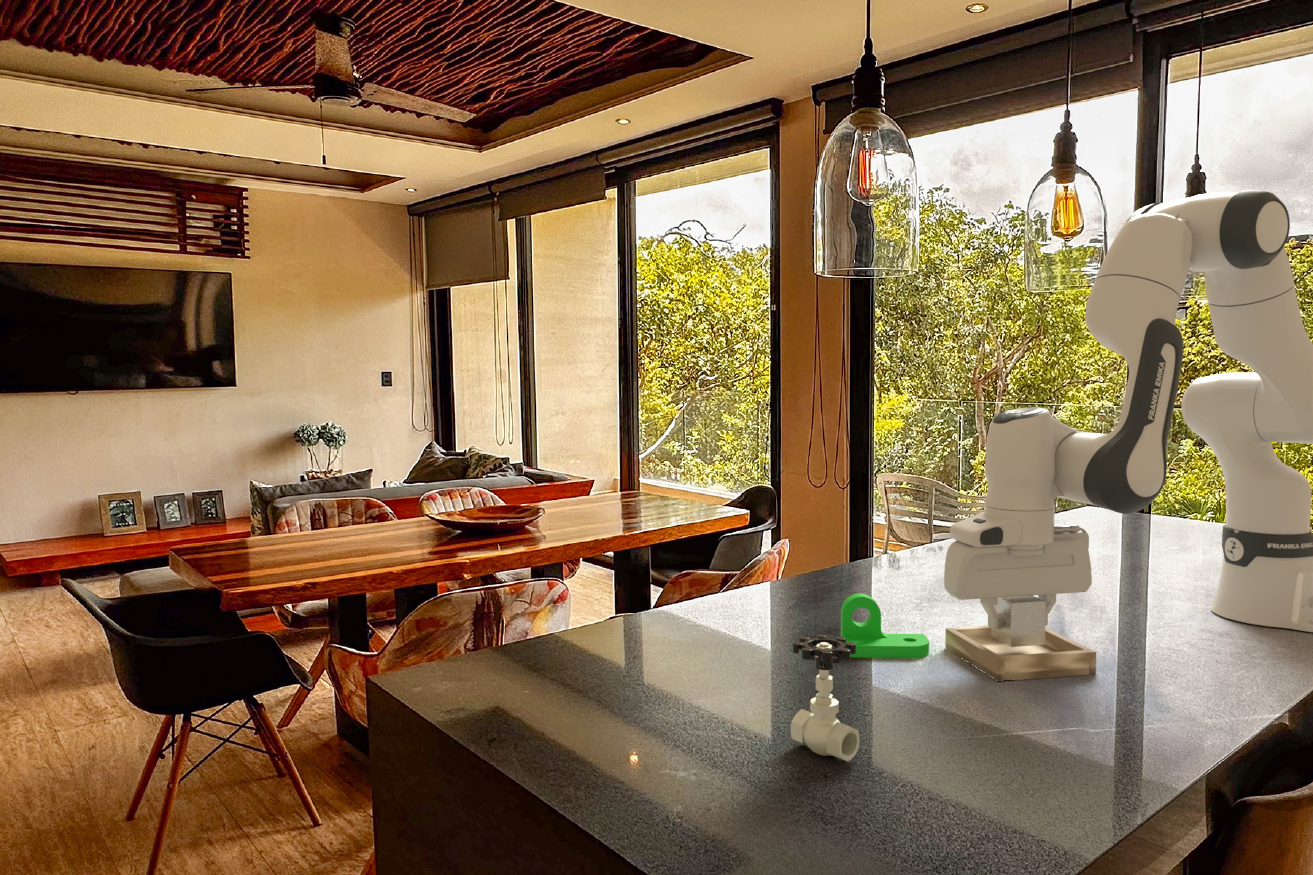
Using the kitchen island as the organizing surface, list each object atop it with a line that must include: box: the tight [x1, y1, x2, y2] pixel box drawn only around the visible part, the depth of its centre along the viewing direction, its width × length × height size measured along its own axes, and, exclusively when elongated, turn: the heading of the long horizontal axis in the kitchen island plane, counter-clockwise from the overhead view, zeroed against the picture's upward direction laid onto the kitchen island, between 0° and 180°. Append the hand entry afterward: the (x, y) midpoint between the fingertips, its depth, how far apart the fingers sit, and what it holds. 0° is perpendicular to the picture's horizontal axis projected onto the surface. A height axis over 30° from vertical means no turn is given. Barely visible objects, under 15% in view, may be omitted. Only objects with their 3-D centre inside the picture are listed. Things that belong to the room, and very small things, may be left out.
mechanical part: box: [840, 592, 930, 659], centre depth 128 cm, size 12×6×8 cm, turn 85°
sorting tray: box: [944, 624, 1097, 682], centre depth 123 cm, size 14×14×3 cm
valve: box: [790, 633, 860, 762], centre depth 94 cm, size 7×7×12 cm
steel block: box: [991, 595, 1046, 647], centre depth 122 cm, size 5×5×6 cm
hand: (1017, 626), depth 122 cm, fingers closed on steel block, 5 cm apart
